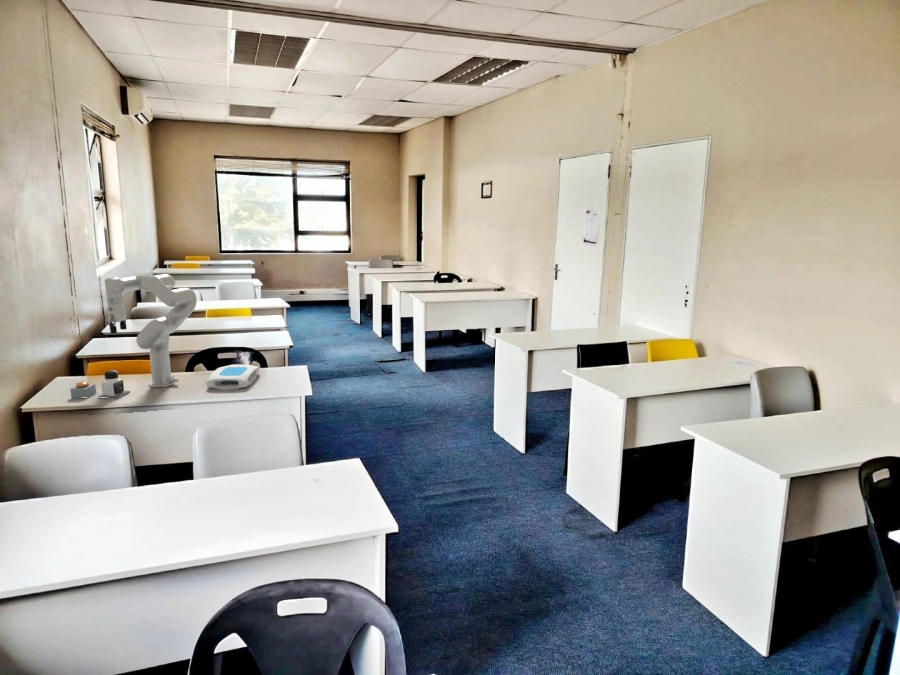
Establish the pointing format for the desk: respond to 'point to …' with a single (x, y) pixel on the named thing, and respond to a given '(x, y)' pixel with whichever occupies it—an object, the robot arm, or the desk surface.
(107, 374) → the medicine bottle
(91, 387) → the release housing
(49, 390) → the desk surface
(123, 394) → the mat
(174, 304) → the robot arm
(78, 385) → the release plunger
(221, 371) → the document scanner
